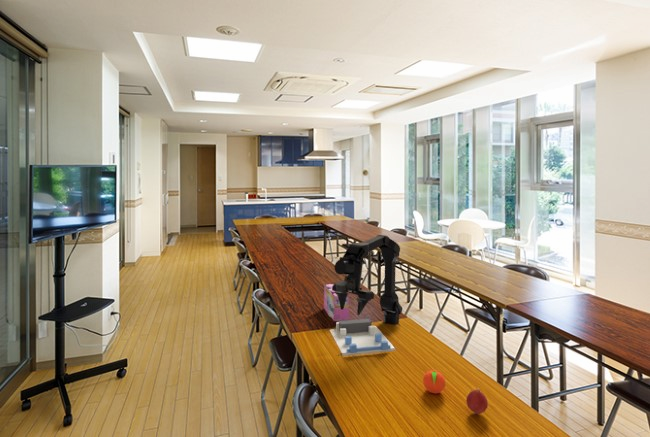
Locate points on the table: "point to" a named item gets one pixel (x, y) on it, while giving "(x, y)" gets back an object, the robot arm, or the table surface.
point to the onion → (477, 401)
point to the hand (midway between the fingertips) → (350, 312)
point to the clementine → (434, 381)
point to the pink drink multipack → (335, 304)
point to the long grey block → (355, 325)
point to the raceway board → (361, 341)
